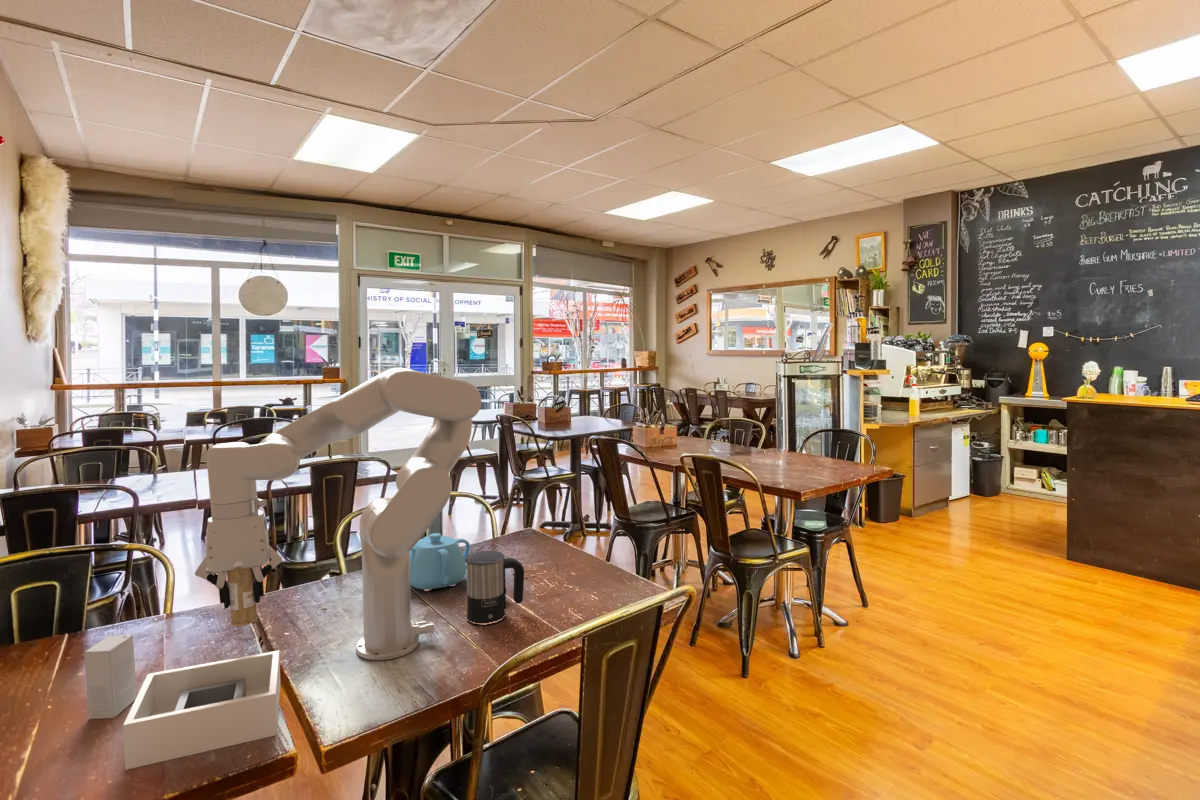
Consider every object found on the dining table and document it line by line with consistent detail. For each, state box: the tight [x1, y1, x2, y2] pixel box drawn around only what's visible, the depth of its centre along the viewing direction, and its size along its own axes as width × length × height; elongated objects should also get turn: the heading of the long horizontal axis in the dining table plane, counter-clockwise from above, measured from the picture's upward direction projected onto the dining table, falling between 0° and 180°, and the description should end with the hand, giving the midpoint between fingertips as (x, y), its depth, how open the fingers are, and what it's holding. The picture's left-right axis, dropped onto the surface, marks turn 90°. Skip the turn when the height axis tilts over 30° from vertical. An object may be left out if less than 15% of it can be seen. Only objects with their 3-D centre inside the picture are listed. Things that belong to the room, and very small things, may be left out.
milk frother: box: [465, 550, 525, 623], centre depth 149 cm, size 14×16×15 cm
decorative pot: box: [410, 532, 471, 590], centre depth 166 cm, size 16×16×14 cm
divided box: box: [122, 650, 281, 771], centre depth 103 cm, size 20×16×7 cm
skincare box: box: [83, 634, 138, 720], centre depth 107 cm, size 6×4×12 cm
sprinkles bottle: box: [226, 561, 259, 627], centre depth 117 cm, size 5×5×13 cm
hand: (242, 602), depth 117 cm, fingers closed on sprinkles bottle, 4 cm apart
